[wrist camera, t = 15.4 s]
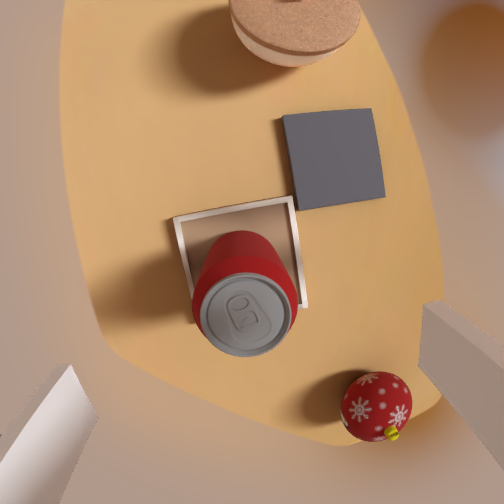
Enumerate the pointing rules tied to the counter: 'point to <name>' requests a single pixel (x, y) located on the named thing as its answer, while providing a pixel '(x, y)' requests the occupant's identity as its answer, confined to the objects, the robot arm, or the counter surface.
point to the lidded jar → (294, 28)
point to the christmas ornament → (376, 406)
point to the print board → (242, 218)
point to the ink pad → (333, 157)
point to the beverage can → (244, 295)
